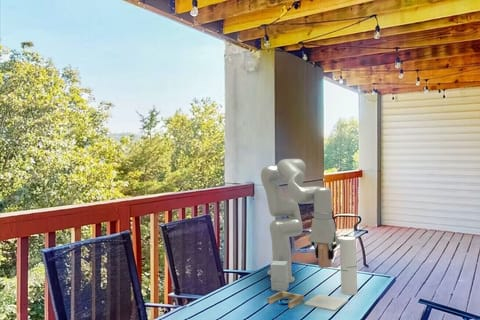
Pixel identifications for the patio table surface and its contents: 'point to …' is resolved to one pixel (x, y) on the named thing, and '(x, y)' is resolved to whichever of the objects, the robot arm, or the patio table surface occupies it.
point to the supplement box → (279, 275)
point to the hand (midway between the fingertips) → (324, 257)
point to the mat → (326, 302)
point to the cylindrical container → (348, 265)
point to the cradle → (293, 297)
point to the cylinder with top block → (323, 255)
